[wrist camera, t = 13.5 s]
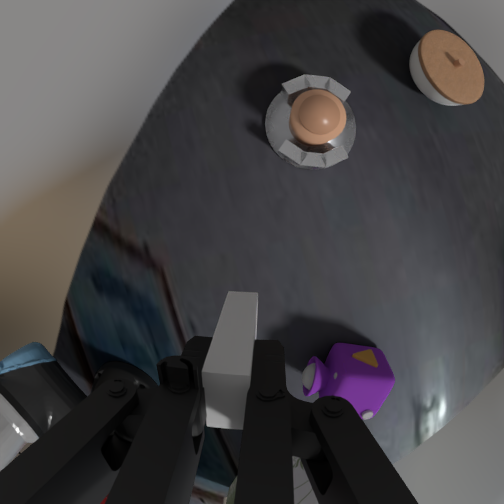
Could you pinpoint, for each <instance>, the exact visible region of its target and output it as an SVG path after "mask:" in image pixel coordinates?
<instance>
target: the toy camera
mask: <svg viewBox="0 0 504 504" xmlns="http://www.w3.org/2000/svg"><path fill="white" fill-rule="evenodd" d="M302 382H303V392H304V395H305V396H309V395H312V394H314V393H316V392H318V391H319V398H321V397H323V396H331V395H334V396H339V397H342V398H344V399H346V400H348V401H349V402H350V403H351V404H352V405H353V407H354V408H355V410H356V411H357V413H358V414H359V416H360V417H361V419H370V418H372V417H373V416H374V415H375V414H376V413H377V411H378V410H379V409H380V407H381V405H382V404H383V402H384V401H385V399H386V398H387V396H388V394H389V393H390V391H391V389H392V387H393V385H394V383H395V377H394V374H393V372H392V370H391V368H390V366H389V364H388V361H387V359H386V357H385V355H384V354H383V352H382V351H381V350H380V349H378V348H374V347H368V346H361V345H354V344H347V343H336V344H334V345H333V346H332V348H331V350H330V352H329V354H328V357H327V359H326V361H325V363H324V364H323V363H322V362H321V361H320V360H319V359H318V358H317V357H316V356H313V357H312V358H311V359H310V360H309V362H308V365H307V367H306V368H305V369H304V371H303V374H302Z"/></svg>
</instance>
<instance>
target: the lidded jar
mask: <svg viewBox="0 0 504 504" xmlns="http://www.w3.org/2000/svg"><path fill="white" fill-rule="evenodd" d="M409 67H410V72H411V76H412V78H413V81H414V82H415V84H416V86H417V87H418V88H419V90H420V91H421V92H422V93H423V94H424V95H425V96H427V97H428V98H429V99H431V100H433V101H434V102H437V103H439V104H443V105H449V106H457V105H462V104H470V103H473V102H475V101H477V100H478V99H479V98H480V97H481V95H482V93H483V89H484V75H483V71H482V67H481V65H480V63H479V60H478V59H477V57H476V55H475V54H474V52H473V51H472V50H471V48H470V47H469V46H468V45H467V44H466V43H465V42H464V41H463V40H462V39H460V38H459V37H457V36H456V35H454V34H452V33H450V32H447V31H444V30H433V31H430V32H428V33H427V34H425V35H424V36H423V37H422V39H421V40H420V41H419V42H418V43H417V44H416V45H415V47H414V48H413V50H412V52H411V55H410V61H409Z"/></svg>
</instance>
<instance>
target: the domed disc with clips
mask: <svg viewBox="0 0 504 504" xmlns="http://www.w3.org/2000/svg"><path fill="white" fill-rule="evenodd" d="M313 89H320V90H325V91H328V92H330V93H332V94H333V95H335V96H336V97H337V98H338V99H339V100H340V101H341V103H342V104H343V106H344V108H345V111H346V124H345V127H344V129H343V131H342V132H341V133H340V134H339V135H338V136H337V137H336V138H334V139H332V140H330V141H328V142H326V143H324V144H323V145H320V146H315V147H310V146H306V145H303V144H301V143H299V142H298V141H297V140H296V139H295V138H294V137H293V136H292V134H291V132H290V129H289V117H290V113H291V109H292V105H293V103H294V101H295V100H296V98H297V97H298V96H299V95H301V94H302V93H304V92H306V91H309V90H313ZM350 93H351V91H349V90H348V89H346V88H345V87H344V86H342V85H341V84H339V83H338V82H336V81H335V80H333V79H332V78H330V77H323V76H315V75H306V74H304V75H302V76H299V77H297V78H294V79H292V80H290V81H287V82H285V83H282V91H281V92H280V93H279V94H278V95H277V96H276V97H275V98H274V99H273V100H272V102H271V104H270V105H269V108H268V110H267V114H266V119H265V128H266V134H267V137H268V140H269V142H270V144H271V146H272V148H273V149H274V151H275V152H276V153H277V154H278V155H279V156H280V157H281V158H282V159H283V160H285V161H286V162H288V163H289V164H291V165H293V166H296V167H299V168H302V169H308V170H318V169H324V168H328V167H330V166H333V165H335V164H336V163H338V162H340V161H342V160H344V159H347V158H348V155H347V154H348V152H349V151H350V149H351V147H352V145H353V143H354V139H355V134H356V123H355V118H354V115H353V112H352V110H351V108H350V106H349V105H348V103H347V102H346V101H345V100H346V98H347V97H348V96H349V94H350Z"/></svg>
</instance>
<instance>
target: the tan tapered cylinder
mask: <svg viewBox="0 0 504 504" xmlns="http://www.w3.org/2000/svg"><path fill="white" fill-rule="evenodd" d="M345 124H346V111H345V108H344V106H343V104H342V103H341V101H340V100H339V99H338V98H337V97H336V96H335V95H333V94H332V93H330V92H328V91H325V90H320V89H313V90H309V91H306V92H304V93H302V94H301V95H299V96H298V97H297V98H296V100H295V101H294V103H293V105H292V109H291V113H290V117H289V129H290V132H291V134H292V136H293V137H294V138H295V139H296V140H297V141H298V142H299V143H301V144H303V145H306V146H310V147H315V146H320V145H323V144H324V143H326V142H328V141H330V140H332V139H334V138H336V137H337V136H338V135H339V134H340V133H341V132H342V131H343V129H344V127H345Z"/></svg>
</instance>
